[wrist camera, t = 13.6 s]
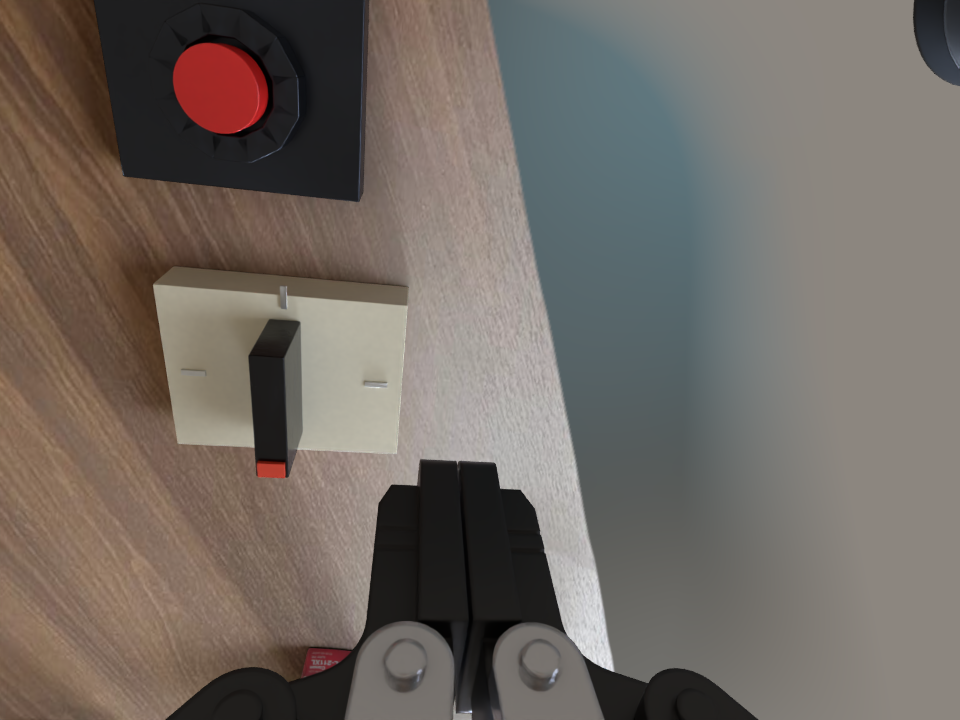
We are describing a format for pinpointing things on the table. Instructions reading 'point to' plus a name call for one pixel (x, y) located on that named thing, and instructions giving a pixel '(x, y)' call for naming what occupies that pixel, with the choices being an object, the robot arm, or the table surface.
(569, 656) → the robot arm
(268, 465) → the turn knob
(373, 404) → the beige base plate
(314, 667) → the ink box
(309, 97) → the button box
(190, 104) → the button
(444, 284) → the table surface
